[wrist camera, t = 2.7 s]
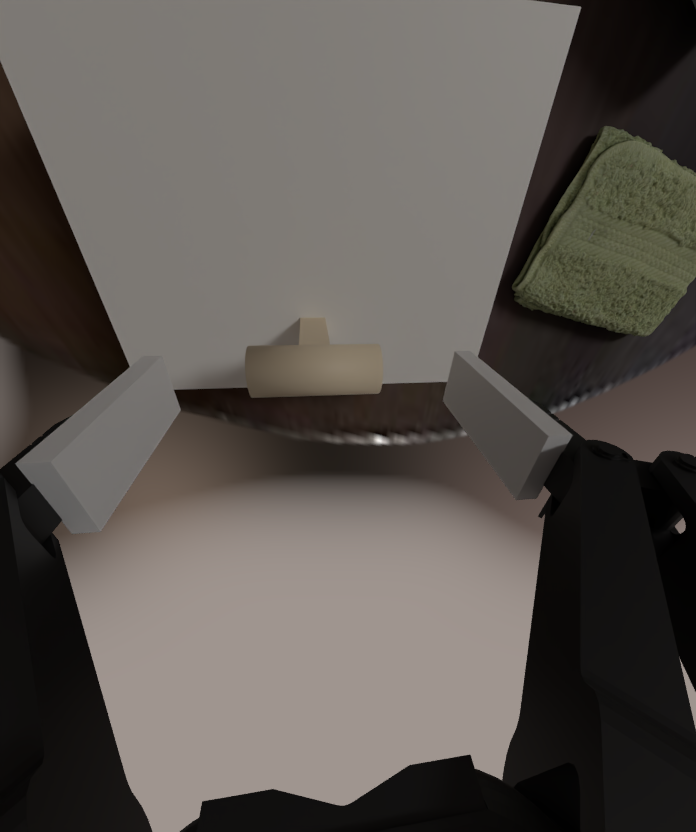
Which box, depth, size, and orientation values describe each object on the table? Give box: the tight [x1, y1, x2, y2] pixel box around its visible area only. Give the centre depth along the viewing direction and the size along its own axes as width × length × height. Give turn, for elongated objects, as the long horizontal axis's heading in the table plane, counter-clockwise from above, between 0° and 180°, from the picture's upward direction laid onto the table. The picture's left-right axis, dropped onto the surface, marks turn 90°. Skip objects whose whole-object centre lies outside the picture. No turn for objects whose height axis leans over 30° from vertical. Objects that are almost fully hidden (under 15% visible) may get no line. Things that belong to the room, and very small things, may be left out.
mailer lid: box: [0, 0, 581, 398], centre depth 14 cm, size 18×24×9 cm
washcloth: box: [512, 126, 696, 337], centre depth 26 cm, size 13×18×3 cm
